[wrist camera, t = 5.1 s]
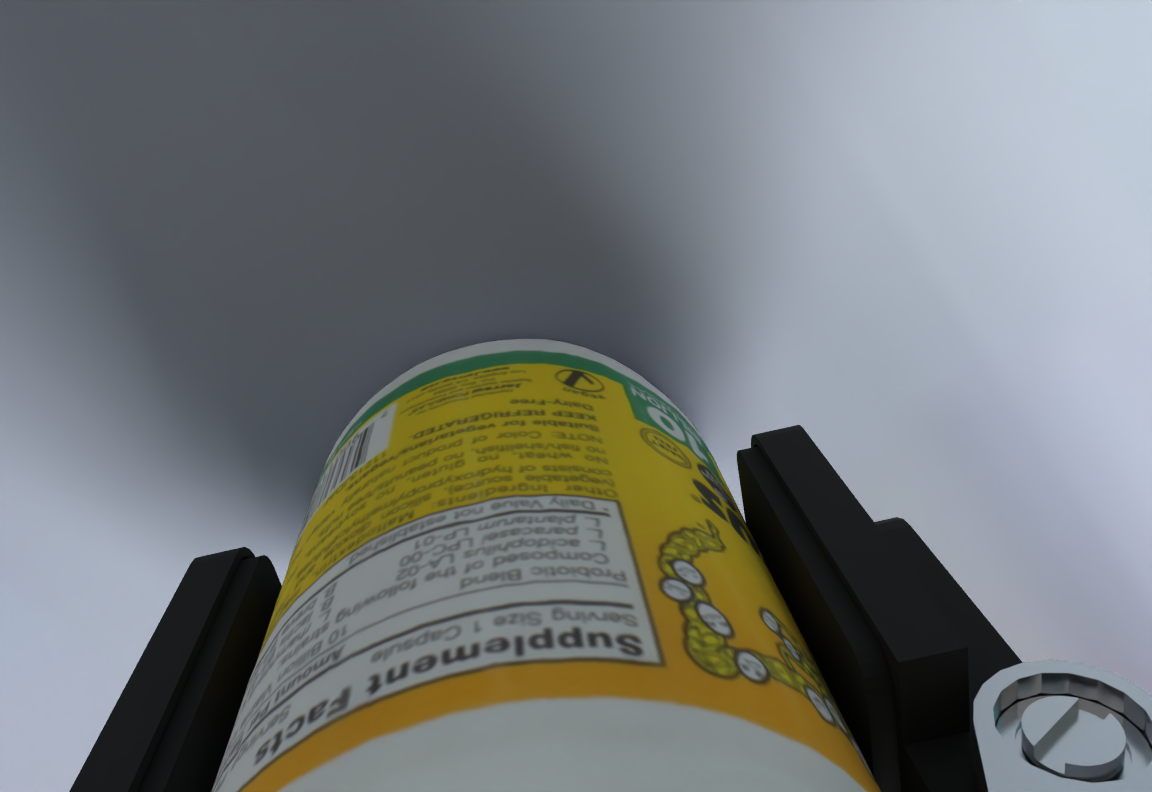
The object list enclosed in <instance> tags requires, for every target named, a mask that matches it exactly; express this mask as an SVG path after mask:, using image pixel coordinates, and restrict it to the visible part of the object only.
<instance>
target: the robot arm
mask: <svg viewBox="0 0 1152 792" xmlns="http://www.w3.org/2000/svg"><path fill="white" fill-rule="evenodd" d="M737 463H738V471H739V478H740V485H741V492H742V499H743V506H744V513H745V520H746V525H747V527H748V528H749V530H750V532H751V534H752V536H753V538H754V540H755V542H756V544H757V546H758V548H759V550H760V552H761V554H762V555H763V557H764V559H765V561H766V563H767V566H768V568H769V571H770V573H771V575H772V577H773V580H774V582H775V584H776V585H777V587H778V589H779V591H780V593H781V595H782V597H783V598H784V600H785V602H786V604H787V606H788V608H789V610H790V612H791V614H792V617H793V619H794V620H795V622H796V624H797V626H798V628H799V630H800V632H801V634H802V636H803V638H804V640H805V642H806V644H807V646H808V648H809V650H810V652H811V654H812V656H813V658H814V660H815V662H816V664H817V666H818V668H819V670H820V672H821V674H822V676H823V678H824V680H825V682H826V684H827V686H828V688H829V690H830V692H831V694H832V696H833V698H834V700H835V702H836V704H837V706H838V708H839V710H840V712H841V714H842V716H843V718H844V720H845V722H846V724H847V725H848V727H849V729H850V731H851V733H852V735H853V737H854V739H855V741H856V743H857V745H858V747H859V749H860V751H861V753H862V755H863V757H864V759H865V761H866V763H867V765H868V767H869V768H870V771H871V773H872V775H873V777H874V779H875V781H876V782H877V784H878V786H879V788H880V790H881V792H1152V695H1150V694H1149V693H1148V692H1147V691H1145V690H1144V689H1143V688H1142V687H1141V686H1139V685H1137V684H1135V683H1133V682H1131V681H1129V680H1127V679H1125V678H1123V677H1121V676H1119V675H1117V674H1115V673H1113V672H1111V671H1108V670H1105V669H1101V668H1098V667H1094V666H1091V665H1087V664H1084V663H1079V662H1069V661H1059V660H1042V661H1032V662H1023V663H1022V661H1021V660H1020V659H1019V658H1018V657H1017V655H1016V654H1015V653H1014V652H1013V650H1012V649H1011V648H1010V647H1009V646H1008V644H1007V643H1006V642H1005V641H1004V639H1003V638H1002V637H1001V636H1000V635H999V633H998V632H997V631H996V630H995V628H994V627H993V626H992V625H991V624H990V622H989V621H988V620H987V619H986V617H985V616H984V615H983V614H982V613H981V611H980V610H979V609H978V608H977V606H976V605H975V604H974V603H973V602H972V600H971V599H970V598H969V597H968V595H967V594H966V593H965V592H964V591H963V589H962V588H961V587H960V586H959V584H958V583H957V582H956V581H955V580H954V578H953V577H952V576H951V575H950V573H949V572H948V571H947V570H946V569H945V567H944V566H943V565H942V564H941V562H940V561H939V560H938V559H937V558H936V556H935V555H934V554H933V553H932V551H931V550H930V549H929V548H928V547H927V545H926V544H925V543H924V542H923V540H922V539H921V538H920V537H919V536H918V534H917V533H916V532H915V531H914V529H913V528H912V527H911V526H910V525H909V524H908V523H907V522H906V521H905V520H904V519H902V518H897V517H896V518H891V519H887V520H882V521H878V522H873V520H872V519H871V518H870V516H869V515H868V514H867V512H866V511H865V510H864V508H863V507H862V506H861V504H860V503H859V502H858V500H857V499H856V498H855V496H854V495H853V494H852V492H851V491H850V490H849V488H848V487H847V486H846V484H845V483H844V482H843V480H842V479H841V478H840V476H839V475H838V474H837V473H836V471H835V470H834V469H833V467H832V466H831V465H830V463H829V462H828V461H827V459H826V458H825V457H824V455H823V454H822V453H821V451H820V450H819V449H818V447H817V446H816V445H815V443H814V442H813V441H812V439H811V438H810V437H809V435H808V434H807V433H806V431H805V430H804V429H803V428H802V427H801V426H800V425H796V426H792V427H787V428H783V429H778V430H773V431H769V432H764V433H760V434H755V435H752V438H751V448H748V449H744V450H739V451H738V452H737ZM281 588H282V586H281V583H280V581H279V578H278V576H277V573H276V571H275V568H274V566H273V564H272V562H271V561H270V559H269V558H268V557H267V556H265V555H263V556H259V557H255V556H254V554H253V553H252V552H251V551H250V549H248V548H246V547H242V548H238V549H233V550H229V551H224V552H220V553H215V554H211V555H206V556H202V557H198V558H195V559H194V560H193V561H192V563H191V564H190V566H189V568H188V570H187V572H186V573H185V575H184V577H183V579H182V581H181V583H180V585H179V587H178V589H177V590H176V592H175V594H174V596H173V598H172V600H171V602H170V604H169V605H168V607H167V609H166V611H165V613H164V615H163V617H162V619H161V620H160V622H159V624H158V626H157V628H156V630H155V632H154V634H153V636H152V637H151V639H150V641H149V643H148V645H147V647H146V649H145V651H144V652H143V654H142V656H141V658H140V660H139V662H138V664H137V666H136V667H135V669H134V671H133V673H132V675H131V677H130V679H129V681H128V683H127V684H126V686H125V688H124V690H123V692H122V694H121V696H120V698H119V699H118V701H117V703H116V705H115V707H114V709H113V711H112V713H111V714H110V716H109V718H108V720H107V722H106V724H105V726H104V728H103V730H102V731H101V733H100V735H99V737H98V739H97V741H96V743H95V745H94V746H93V748H92V750H91V752H90V754H89V756H88V758H87V760H86V761H85V763H84V765H83V767H82V769H81V771H80V773H79V775H78V777H77V778H76V780H75V782H74V784H73V786H72V788H71V790H70V792H212V789H213V786H214V783H215V780H216V777H217V774H218V771H219V768H220V765H221V763H222V760H223V757H224V754H225V751H226V748H227V745H228V742H229V740H230V737H231V734H232V731H233V728H234V725H235V722H236V719H237V716H238V713H239V710H240V707H241V704H242V701H243V698H244V694H245V691H246V688H247V685H248V682H249V680H250V677H251V675H252V673H253V670H254V668H255V665H256V662H257V659H258V656H259V653H260V650H261V647H262V645H263V642H264V639H265V636H266V633H267V630H268V627H269V624H270V620H271V617H272V614H273V611H274V608H275V605H276V602H277V599H278V596H279V594H280V591H281Z"/></svg>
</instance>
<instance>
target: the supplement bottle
mask: <svg viewBox="0 0 1152 792" xmlns="http://www.w3.org/2000/svg"><path fill="white" fill-rule="evenodd" d="M212 792H881V790H880V788H879V786H878V784H877V782H876V781H875V779H874V777H873V775H872V773H871V771H870V768H869V767H868V765H867V763H866V761H865V759H864V757H863V755H862V753H861V751H860V749H859V747H858V745H857V743H856V741H855V739H854V737H853V735H852V733H851V731H850V729H849V727H848V725H847V724H846V722H845V720H844V718H843V716H842V714H841V712H840V710H839V708H838V706H837V704H836V702H835V700H834V698H833V696H832V694H831V692H830V690H829V688H828V686H827V684H826V682H825V680H824V678H823V676H822V674H821V672H820V670H819V668H818V666H817V664H816V662H815V660H814V658H813V656H812V654H811V652H810V650H809V648H808V646H807V644H806V642H805V640H804V638H803V636H802V634H801V632H800V630H799V628H798V626H797V624H796V622H795V620H794V619H793V617H792V614H791V612H790V610H789V608H788V606H787V604H786V602H785V600H784V598H783V597H782V595H781V593H780V591H779V589H778V587H777V585H776V584H775V582H774V580H773V577H772V575H771V573H770V571H769V568H768V566H767V563H766V561H765V559H764V557H763V555H762V554H761V552H760V550H759V548H758V546H757V544H756V542H755V540H754V538H753V536H752V534H751V532H750V530H749V528H748V527H747V525H746V523H745V521H744V519H743V517H742V515H741V513H740V511H739V509H738V507H737V505H736V502H735V500H734V498H733V496H732V494H731V492H730V490H729V488H728V486H727V484H726V482H725V480H724V478H723V476H722V474H721V472H720V470H719V468H718V466H717V464H716V462H715V460H714V458H713V456H712V454H711V453H710V451H709V450H708V448H707V446H706V445H705V443H704V441H703V440H702V438H701V436H700V435H699V433H698V432H697V430H696V429H695V427H694V426H693V424H692V423H691V421H690V420H689V419H688V418H687V417H686V416H685V415H684V414H683V413H682V412H681V410H680V409H679V408H678V407H677V406H676V405H675V404H674V403H673V402H671V401H670V400H669V399H668V398H667V397H666V396H665V395H664V394H663V393H661V392H660V391H659V390H658V389H656V388H655V387H654V386H653V385H651V384H650V383H649V382H648V381H646V380H645V379H644V378H643V377H641V376H640V375H639V374H637V373H636V372H634V371H633V370H631V369H629V368H628V367H626V366H625V365H623V364H621V363H619V362H618V361H616V360H614V359H612V358H610V357H607V356H605V355H602V354H600V353H597V352H595V351H592V350H590V349H587V348H585V347H581V346H577V345H573V344H570V343H566V342H561V341H554V340H547V339H511V340H498V341H491V342H485V343H479V344H475V345H471V346H467V347H463V348H459V349H456V350H452V351H449V352H446V353H443V354H441V355H438V356H436V357H433V358H431V359H428V360H426V361H424V362H422V363H420V364H418V365H416V366H415V367H413V368H412V369H410V370H408V371H407V372H405V373H403V374H402V375H400V376H399V377H397V378H396V379H395V380H393V381H392V382H391V383H389V384H388V385H387V386H385V387H384V388H383V389H381V390H380V391H379V392H378V393H377V394H376V395H374V396H373V397H372V398H371V399H370V400H369V401H368V402H367V403H366V404H365V405H364V406H363V407H362V408H361V409H360V410H359V412H358V413H357V414H356V415H355V417H354V418H353V419H352V420H351V422H350V423H349V424H348V425H347V427H346V428H345V429H344V431H343V432H342V434H341V435H340V437H339V439H338V440H337V442H336V444H335V446H334V448H333V449H332V451H331V453H330V455H329V457H328V459H327V462H326V464H325V467H324V469H323V472H322V474H321V477H320V480H319V482H318V485H317V487H316V490H315V492H314V495H313V497H312V501H311V504H310V506H309V509H308V512H307V514H306V517H305V520H304V522H303V525H302V528H301V531H300V534H299V537H298V539H297V542H296V545H295V548H294V551H293V554H292V557H291V560H290V563H289V567H288V570H287V573H286V576H285V579H284V582H283V585H282V588H281V591H280V594H279V596H278V599H277V602H276V605H275V608H274V611H273V614H272V617H271V620H270V624H269V627H268V630H267V633H266V636H265V639H264V642H263V645H262V647H261V650H260V653H259V656H258V659H257V662H256V665H255V668H254V670H253V673H252V675H251V677H250V680H249V682H248V685H247V688H246V691H245V694H244V698H243V701H242V704H241V707H240V710H239V713H238V716H237V719H236V722H235V725H234V728H233V731H232V734H231V737H230V740H229V742H228V745H227V748H226V751H225V754H224V757H223V760H222V763H221V765H220V768H219V771H218V774H217V777H216V780H215V783H214V786H213V789H212Z"/></svg>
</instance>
